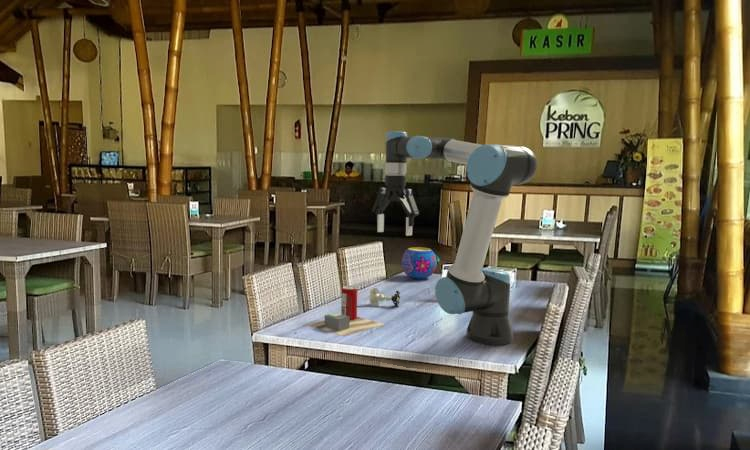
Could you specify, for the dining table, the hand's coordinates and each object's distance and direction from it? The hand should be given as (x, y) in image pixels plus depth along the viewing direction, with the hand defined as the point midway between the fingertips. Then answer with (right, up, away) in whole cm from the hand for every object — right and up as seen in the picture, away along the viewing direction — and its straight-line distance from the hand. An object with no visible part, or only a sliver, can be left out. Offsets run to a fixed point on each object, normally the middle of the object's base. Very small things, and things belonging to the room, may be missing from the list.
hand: (394, 233), depth 207 cm
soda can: (-16, -31, -4) cm, 35 cm away
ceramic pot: (+15, -24, +80) cm, 85 cm away
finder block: (-20, -32, -14) cm, 40 cm away
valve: (-4, -30, +23) cm, 37 cm away
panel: (-17, -32, -10) cm, 38 cm away
